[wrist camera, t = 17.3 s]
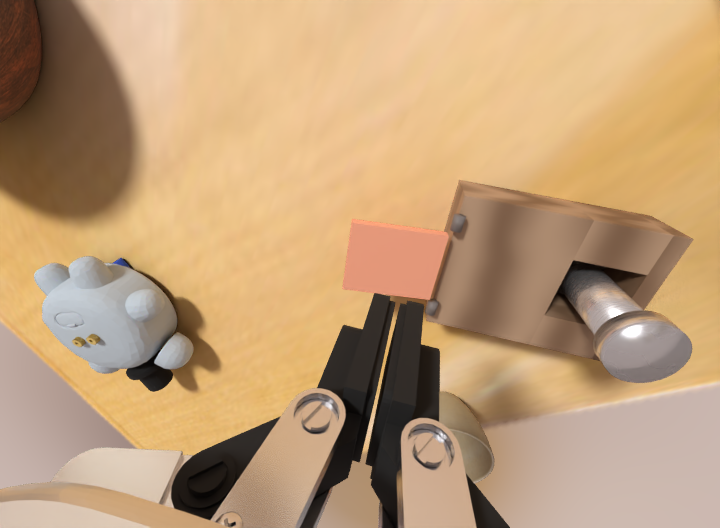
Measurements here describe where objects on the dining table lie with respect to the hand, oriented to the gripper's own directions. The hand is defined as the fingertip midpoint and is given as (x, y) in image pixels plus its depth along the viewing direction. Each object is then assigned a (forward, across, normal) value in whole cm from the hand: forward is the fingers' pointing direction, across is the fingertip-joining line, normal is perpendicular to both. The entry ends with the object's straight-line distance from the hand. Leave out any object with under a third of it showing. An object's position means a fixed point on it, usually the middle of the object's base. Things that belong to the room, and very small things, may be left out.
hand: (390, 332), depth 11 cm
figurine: (+20, +33, +24) cm, 45 cm away
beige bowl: (+21, -9, +28) cm, 36 cm away
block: (+21, -11, +6) cm, 25 cm away
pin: (+21, -15, +6) cm, 27 cm away
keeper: (+15, +1, +5) cm, 16 cm away
